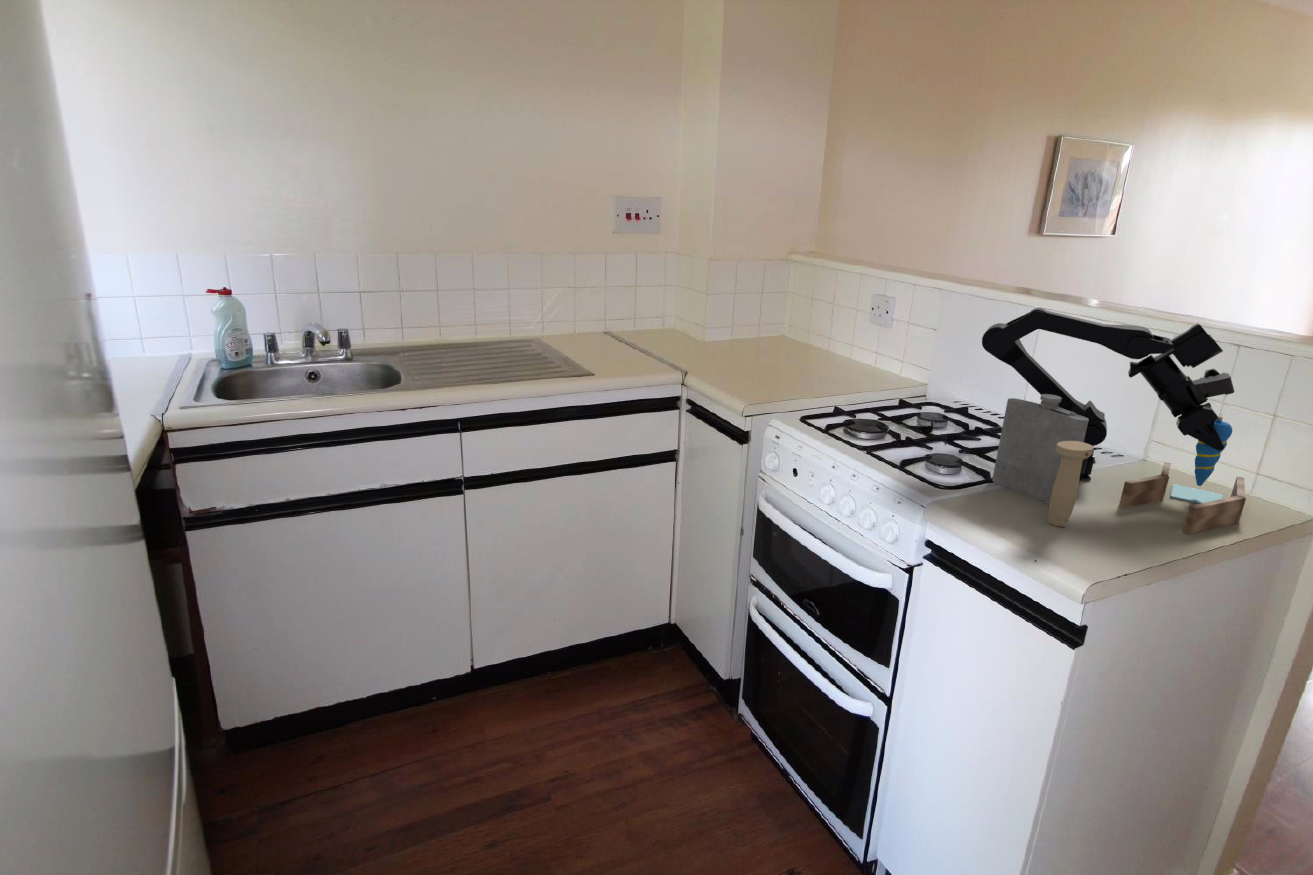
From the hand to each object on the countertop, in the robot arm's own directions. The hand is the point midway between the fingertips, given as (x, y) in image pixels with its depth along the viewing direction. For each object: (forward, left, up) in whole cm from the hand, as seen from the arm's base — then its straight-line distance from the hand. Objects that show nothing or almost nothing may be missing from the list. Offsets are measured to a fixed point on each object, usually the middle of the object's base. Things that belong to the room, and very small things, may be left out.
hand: (1220, 446), depth 147 cm
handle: (-35, -19, -11) cm, 41 cm away
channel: (-6, -6, -11) cm, 14 cm away
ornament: (-1, 0, -9) cm, 9 cm away
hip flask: (-35, -4, -12) cm, 37 cm away
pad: (-1, +1, -11) cm, 11 cm away
